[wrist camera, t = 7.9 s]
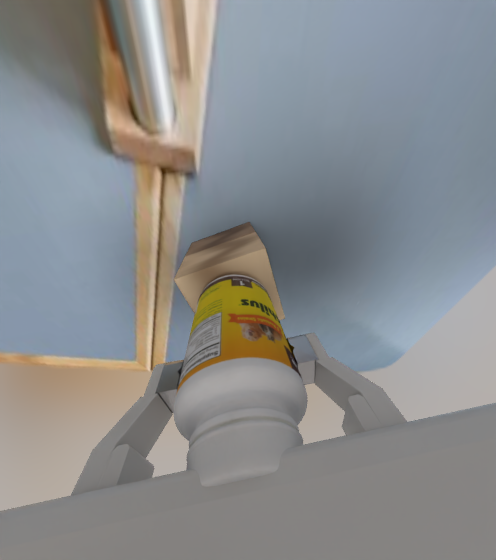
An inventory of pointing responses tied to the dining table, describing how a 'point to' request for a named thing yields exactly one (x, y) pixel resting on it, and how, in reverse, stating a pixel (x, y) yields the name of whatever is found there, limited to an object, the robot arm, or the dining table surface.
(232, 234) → the tower base block
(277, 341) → the supplement bottle
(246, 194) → the dining table surface
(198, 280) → the tower top block
